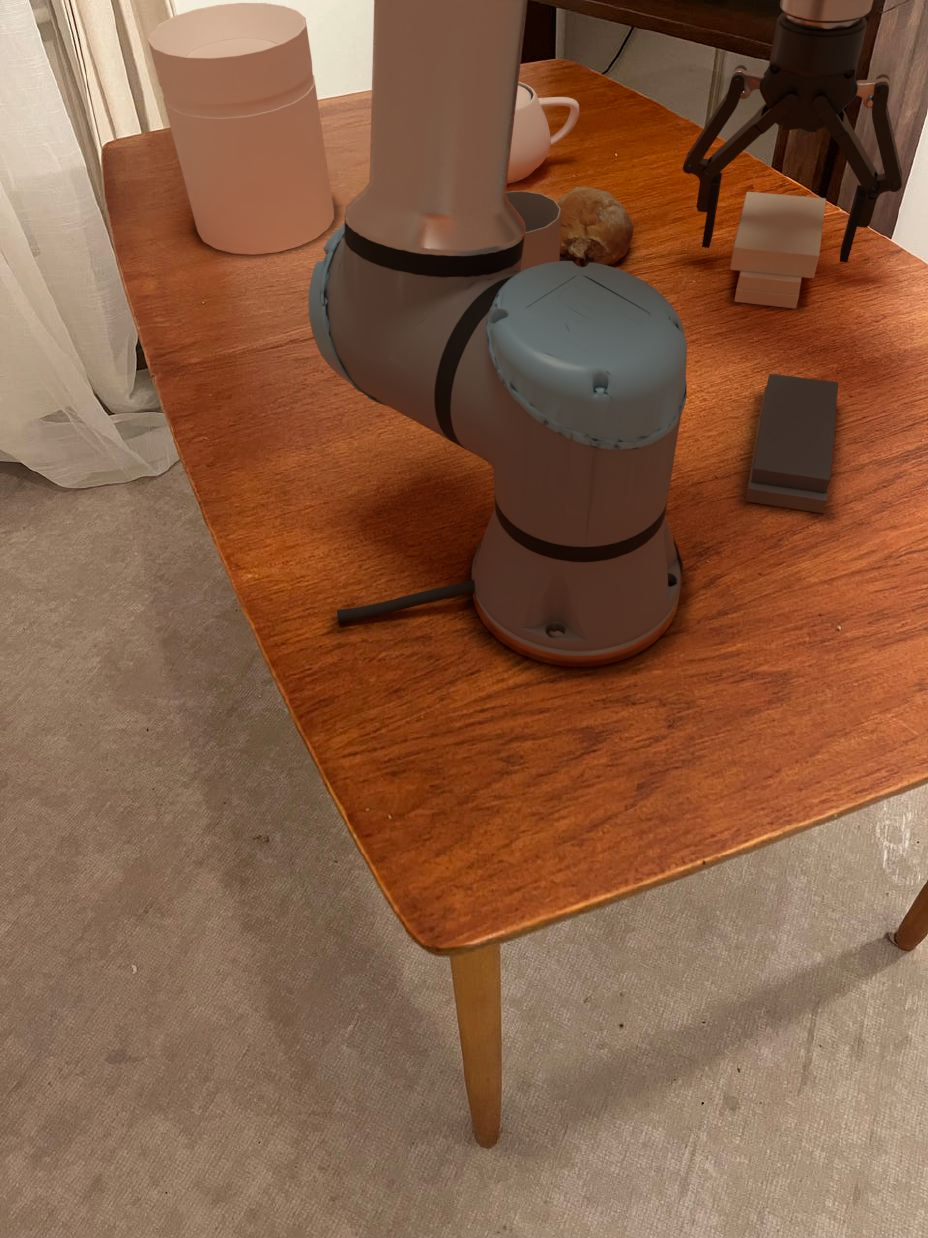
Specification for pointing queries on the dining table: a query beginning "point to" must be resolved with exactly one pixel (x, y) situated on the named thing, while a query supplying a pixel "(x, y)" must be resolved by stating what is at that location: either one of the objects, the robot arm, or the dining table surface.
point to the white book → (779, 235)
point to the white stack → (768, 289)
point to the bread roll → (593, 227)
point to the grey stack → (794, 444)
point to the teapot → (535, 131)
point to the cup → (538, 227)
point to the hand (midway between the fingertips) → (774, 248)
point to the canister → (246, 125)
